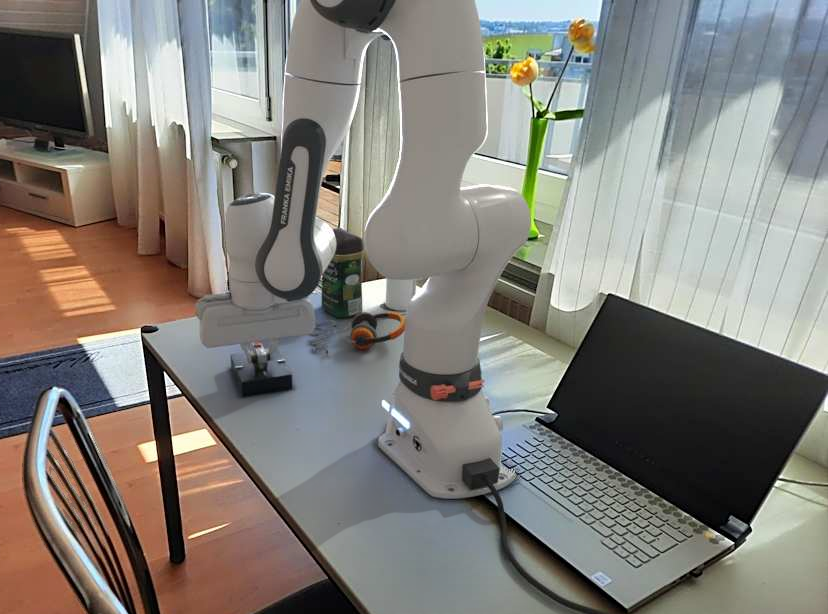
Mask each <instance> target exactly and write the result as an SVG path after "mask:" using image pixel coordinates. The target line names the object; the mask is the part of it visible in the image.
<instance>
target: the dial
mask: <svg viewBox="0 0 828 614" xmlns="http://www.w3.org/2000/svg"><path fill="white" fill-rule="evenodd" d="M251 346H252V351H255V353H256V360H257V363H256V366H257V368H258V370H259V371H261V370H267V369H268V368H267V354H266V352H265V350H264V349H265V348H264V346H263V344H262V343H261V341H257V342H252V345H251Z"/></svg>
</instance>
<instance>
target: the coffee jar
mask: <svg viewBox="0 0 828 614" xmlns="http://www.w3.org/2000/svg"><path fill="white" fill-rule="evenodd" d="M332 229H333V231H334V233H335V236H336V240H337V248H336V252H335V255H334V256H333V258H332V260H331V261H330V263H329V265H328V266H327V268H326V270H325V271H324V273H323V274H322V276H321V308H322V309H323V310H324V311H325V312H326V313H328V314H329V315H331V316H333V317H335V318H339V319H341V318H343V319H344V318H345V319H346V318H347V319H349V318H354V317H355V316H356V315H357V314H359V313H363V312H362V311H363V287H362V286H363V285H362V284H363V283H362V282H363V280H362V278H363V277H362V265H363V264H362V263H363V262H362V261H363V257H364V240H363V238H362V237H360V236H359V235H357V234H355V233H353V232H352V231H351V232H350V231H349V230H346V229H343V228H342V227H336V228H332Z"/></svg>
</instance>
